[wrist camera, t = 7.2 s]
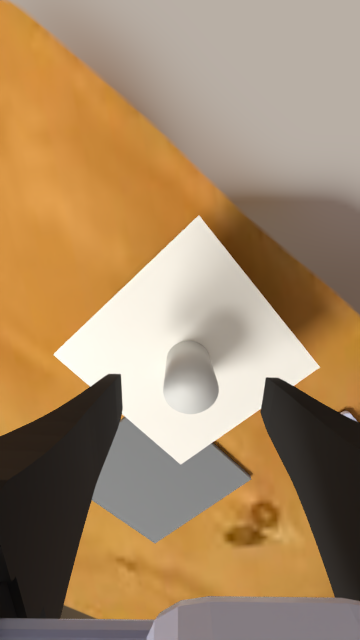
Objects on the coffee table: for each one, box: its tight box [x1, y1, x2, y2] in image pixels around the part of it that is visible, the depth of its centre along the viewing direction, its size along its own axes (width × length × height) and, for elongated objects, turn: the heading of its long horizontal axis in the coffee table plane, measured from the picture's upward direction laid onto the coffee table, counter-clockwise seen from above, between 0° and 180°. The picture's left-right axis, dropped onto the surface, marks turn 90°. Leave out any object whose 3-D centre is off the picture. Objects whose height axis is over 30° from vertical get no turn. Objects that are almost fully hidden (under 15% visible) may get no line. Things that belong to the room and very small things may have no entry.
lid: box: [53, 216, 320, 465], centre depth 14 cm, size 13×13×4 cm
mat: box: [92, 417, 251, 543], centre depth 25 cm, size 15×15×1 cm
